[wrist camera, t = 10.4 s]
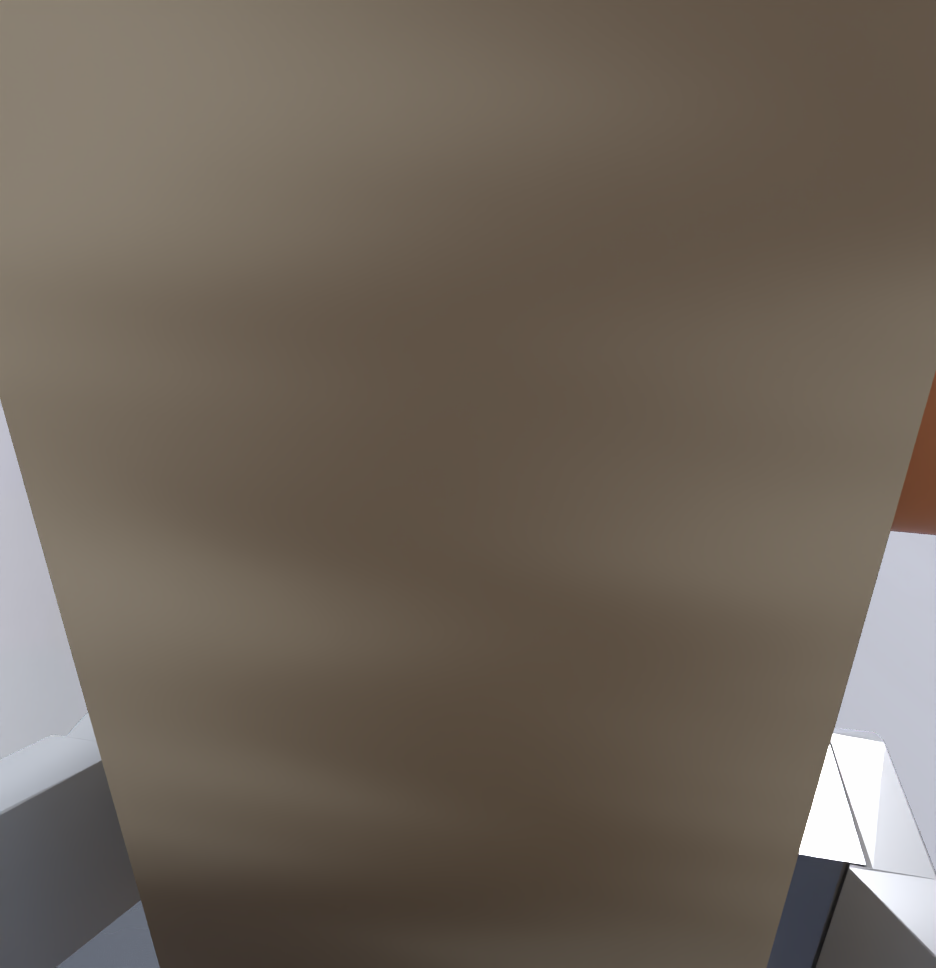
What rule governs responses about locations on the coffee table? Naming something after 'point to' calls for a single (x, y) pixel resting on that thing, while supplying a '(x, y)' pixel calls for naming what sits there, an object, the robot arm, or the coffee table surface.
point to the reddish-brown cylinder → (920, 478)
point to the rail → (118, 945)
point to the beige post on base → (465, 449)
